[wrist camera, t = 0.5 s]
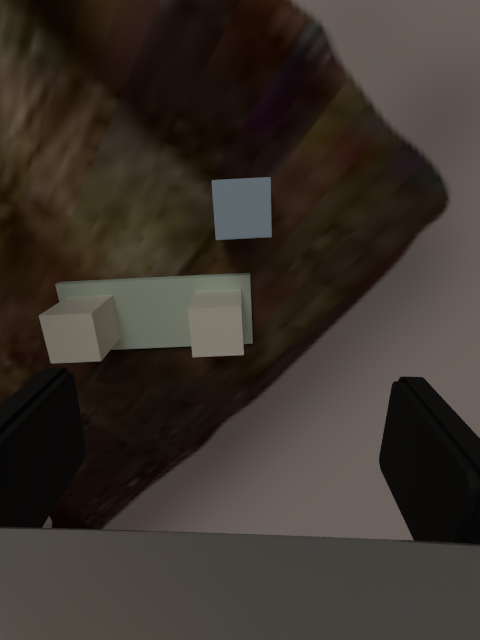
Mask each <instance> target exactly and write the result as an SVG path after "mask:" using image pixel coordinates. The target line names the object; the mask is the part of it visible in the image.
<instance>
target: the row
mask: <svg viewBox="0 0 480 640" xmlns="http://www.w3.org/2000/svg"><path fill="white" fill-rule="evenodd" d="M55 286H56V290H57V294H58V298H59V303H58V304H56V305H54V306H53V307H51V308H50V309H48V310H47V311H45V312H43V313H42V314H40V315H39V319H40V323H41V327H42V331H43V335H44V339H45V343H46V346H47V350H48V354H49V358H50V362H51V363H73V362H96V361H102V360H103V358H104V357H105V356H106V355H107V353H108V352H109V351H110V350H118V349H141V348H163V347H186V346H192V356H193V357H211V356H233V355H244V344H253V336H252V311H251V287H250V273H235V274H214V275H194V276H173V277H152V278H131V279H111V280H90V281H69V282H59V283H57V284H55Z"/></svg>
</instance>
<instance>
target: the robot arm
mask: <svg viewBox="0 0 480 640" xmlns="http://www.w3.org/2000/svg"><path fill="white" fill-rule="evenodd" d="M85 451H86V449H85V442H84V435H83V429H82V423H81V416H80V410H79V403H78V397H77V391H76V384H75V378H74V375H73V374H72V373H69V372H68V370H67V369H66V368H44V369H42V370H41V371H40V372H39V373H37V374H36V375H35V376H34V377H33V378H32V379H30V380H29V381H28V382H27V383H26V384H25V385H24V386H22V387H21V388H20V389H19V390H18V391H17V392H15V393H14V394H13V395H12V396H11V397H10V398H8V399H7V400H6V401H5V402H4V403H3V404H1V405H0V640H480V438H479V437H478V436H477V435H476V434H475V433H474V432H473V431H472V430H471V428H470V427H469V426H468V425H467V424H466V423H465V422H464V421H463V420H462V419H461V418H460V417H459V416H458V415H457V413H456V412H455V411H454V410H453V409H452V408H451V407H450V406H449V405H448V404H447V403H446V402H445V401H444V400H443V398H442V397H441V396H440V395H439V394H438V393H437V392H436V391H435V390H434V389H433V388H432V386H431V385H430V384H429V383H428V382H427V381H426V380H425V379H424V378H423V377H400V378H399V380H398V381H395V382H393V384H392V388H391V394H390V399H389V406H388V411H387V416H386V423H385V428H384V433H383V439H382V445H381V450H380V456H379V463H380V469H381V471H382V473H383V475H384V478H385V479H386V482H387V484H388V486H389V488H390V490H391V492H392V495H393V497H394V499H395V501H396V503H397V505H398V507H399V509H400V511H401V514H402V516H403V518H404V520H405V522H406V524H407V526H408V529H409V531H410V533H411V535H412V537H413V539H414V540H388V539H363V538H336V537H311V536H283V535H256V534H255V535H254V534H225V533H195V532H165V531H163V532H162V531H133V530H100V529H64V528H42V527H43V525H44V524H45V522H46V521H47V519H48V517H49V516H50V514H51V512H52V511H53V509H54V508H55V506H56V504H57V503H58V501H59V499H60V498H61V496H62V495H63V493H64V491H65V490H66V488H67V486H68V485H69V483H70V482H71V480H72V478H73V477H74V475H75V473H76V472H77V470H78V469H79V467H80V465H81V464H82V462H83V460H84V457H85Z"/></svg>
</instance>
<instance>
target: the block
mask: <svg viewBox="0 0 480 640" xmlns="http://www.w3.org/2000/svg"><path fill="white" fill-rule="evenodd" d="M212 193H213V206H214V220H215V234H216V240H225V239H245V238H265V237H272V230H271V178H270V177H265V178H246V179H227V180H212Z"/></svg>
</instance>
